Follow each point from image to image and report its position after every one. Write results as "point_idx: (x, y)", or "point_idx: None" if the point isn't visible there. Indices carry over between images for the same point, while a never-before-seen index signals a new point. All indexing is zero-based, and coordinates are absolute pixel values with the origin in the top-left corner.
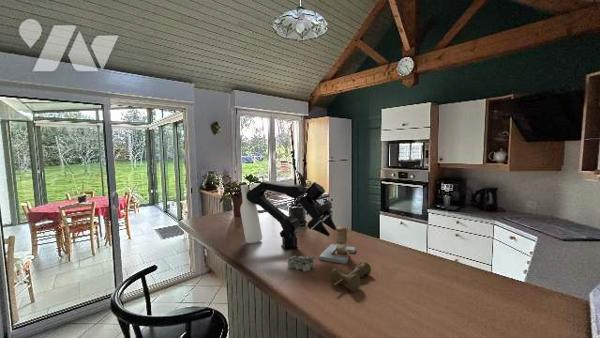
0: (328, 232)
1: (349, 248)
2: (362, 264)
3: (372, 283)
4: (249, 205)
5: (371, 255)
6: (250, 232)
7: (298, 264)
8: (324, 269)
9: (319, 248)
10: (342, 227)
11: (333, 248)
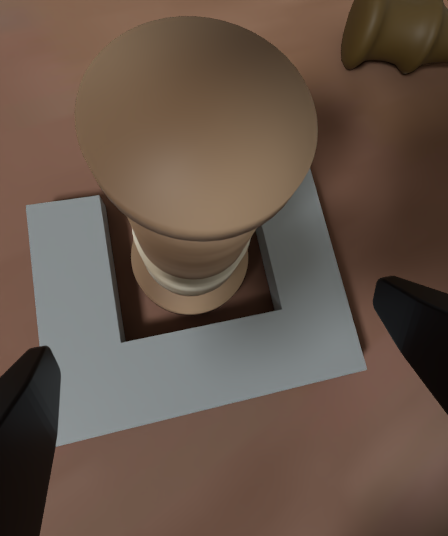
0: (417, 291)
1: (76, 238)
2: (397, 2)
3: None
4: None
5: (75, 90)
6: None
7: None
8: (445, 251)
9: (151, 521)
10: (176, 107)
11: (151, 359)
